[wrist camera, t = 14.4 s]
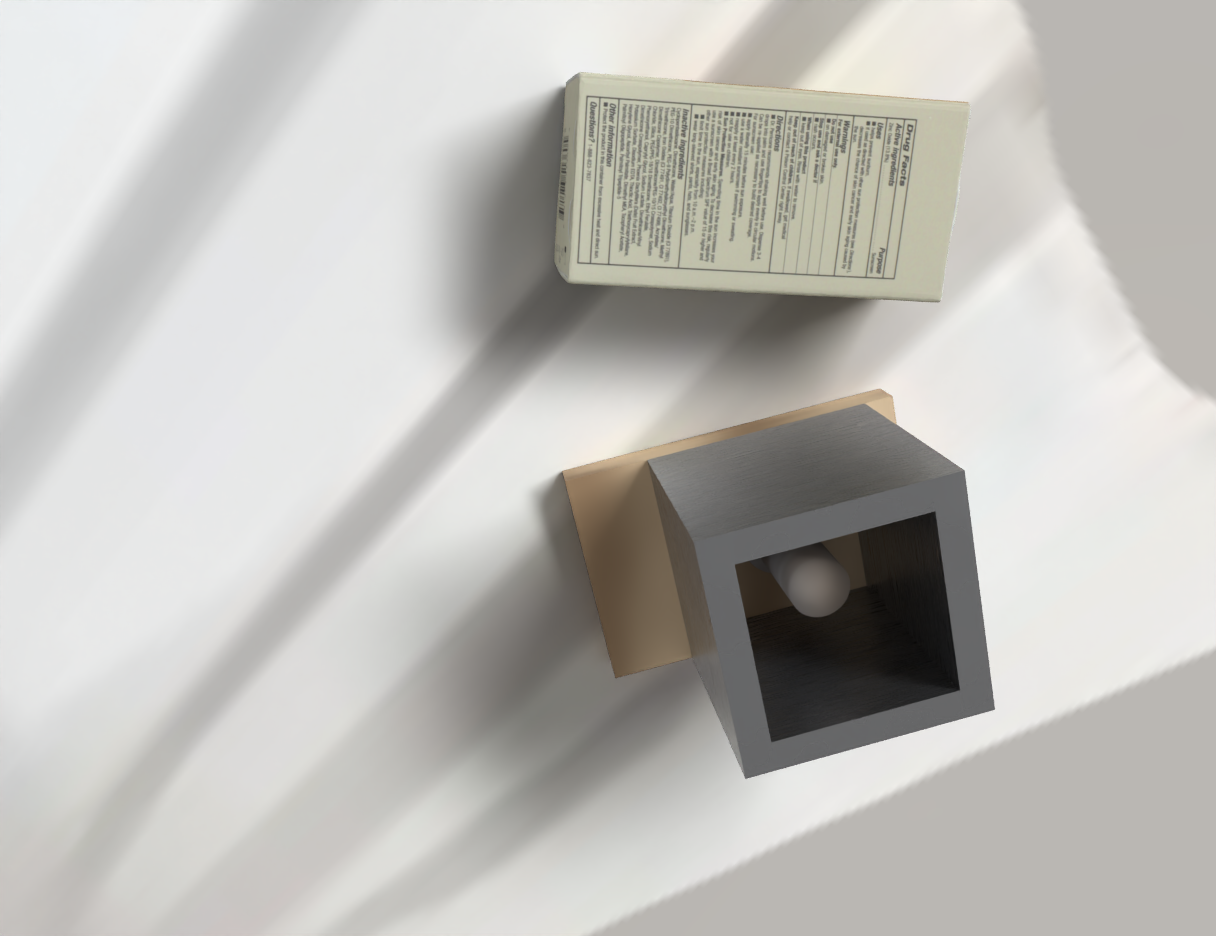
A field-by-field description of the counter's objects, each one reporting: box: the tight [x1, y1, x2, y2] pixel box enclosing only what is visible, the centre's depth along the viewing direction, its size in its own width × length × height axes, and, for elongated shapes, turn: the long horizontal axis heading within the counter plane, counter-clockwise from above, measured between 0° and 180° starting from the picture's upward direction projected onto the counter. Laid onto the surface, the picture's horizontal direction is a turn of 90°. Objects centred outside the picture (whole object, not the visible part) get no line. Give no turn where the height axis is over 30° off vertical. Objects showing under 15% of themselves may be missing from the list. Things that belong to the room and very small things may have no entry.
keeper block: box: [562, 389, 897, 678], centre depth 37 cm, size 12×8×6 cm, turn 103°
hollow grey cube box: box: [647, 403, 995, 779], centre depth 35 cm, size 8×8×8 cm
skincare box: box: [554, 72, 971, 302], centre depth 35 cm, size 6×4×12 cm
